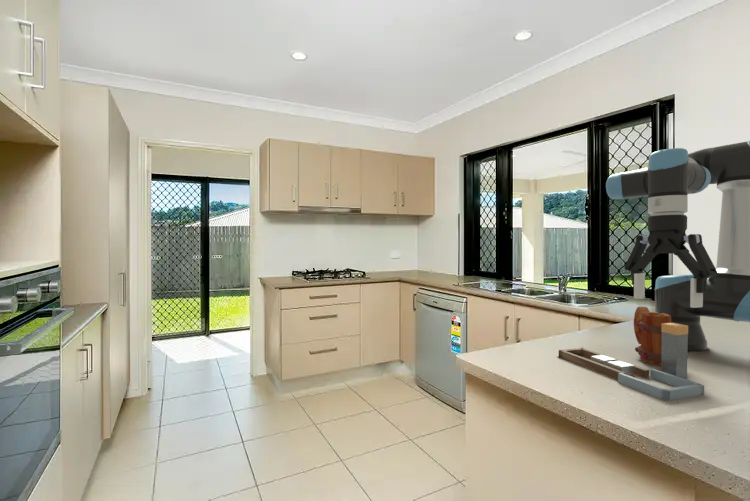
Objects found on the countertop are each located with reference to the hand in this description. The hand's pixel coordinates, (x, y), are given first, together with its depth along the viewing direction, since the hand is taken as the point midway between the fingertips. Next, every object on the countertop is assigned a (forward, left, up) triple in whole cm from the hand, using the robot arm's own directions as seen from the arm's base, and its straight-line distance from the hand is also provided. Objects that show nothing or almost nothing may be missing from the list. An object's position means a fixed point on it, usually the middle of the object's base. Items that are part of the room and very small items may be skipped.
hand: (665, 302), depth 90 cm
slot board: (+8, -11, -19) cm, 23 cm away
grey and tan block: (-1, +1, -19) cm, 19 cm away
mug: (-11, -12, -19) cm, 25 cm away
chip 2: (+8, -5, -18) cm, 20 cm away
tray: (+8, +5, -19) cm, 21 cm away
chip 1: (+8, -10, -18) cm, 22 cm away
